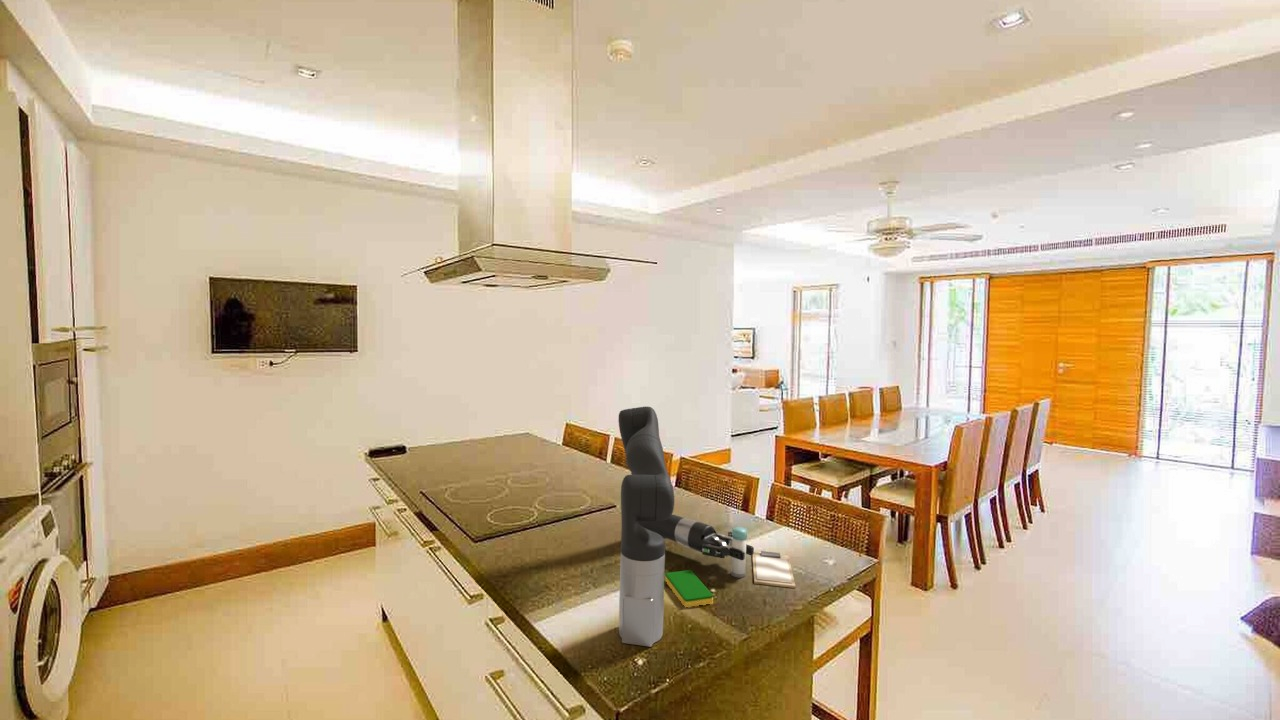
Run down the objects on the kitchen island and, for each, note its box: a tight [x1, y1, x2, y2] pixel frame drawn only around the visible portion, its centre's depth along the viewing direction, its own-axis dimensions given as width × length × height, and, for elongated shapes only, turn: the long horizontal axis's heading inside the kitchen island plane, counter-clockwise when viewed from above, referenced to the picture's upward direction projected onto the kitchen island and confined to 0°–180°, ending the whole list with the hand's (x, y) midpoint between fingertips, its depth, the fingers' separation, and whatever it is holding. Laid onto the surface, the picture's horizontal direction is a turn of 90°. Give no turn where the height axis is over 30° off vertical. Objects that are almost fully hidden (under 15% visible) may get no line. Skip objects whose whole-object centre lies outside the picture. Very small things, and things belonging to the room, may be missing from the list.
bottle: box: [730, 526, 748, 579], centre depth 137 cm, size 4×4×12 cm
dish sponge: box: [664, 569, 714, 608], centre depth 127 cm, size 7×14×2 cm, turn 17°
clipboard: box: [751, 550, 796, 589], centre depth 140 cm, size 18×10×1 cm, turn 169°
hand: (748, 553), depth 135 cm, fingers open, 3 cm apart
